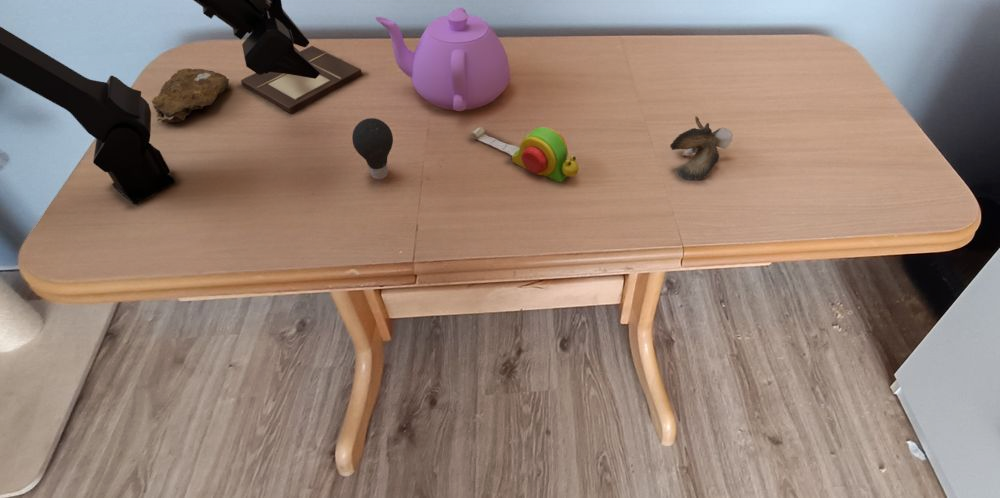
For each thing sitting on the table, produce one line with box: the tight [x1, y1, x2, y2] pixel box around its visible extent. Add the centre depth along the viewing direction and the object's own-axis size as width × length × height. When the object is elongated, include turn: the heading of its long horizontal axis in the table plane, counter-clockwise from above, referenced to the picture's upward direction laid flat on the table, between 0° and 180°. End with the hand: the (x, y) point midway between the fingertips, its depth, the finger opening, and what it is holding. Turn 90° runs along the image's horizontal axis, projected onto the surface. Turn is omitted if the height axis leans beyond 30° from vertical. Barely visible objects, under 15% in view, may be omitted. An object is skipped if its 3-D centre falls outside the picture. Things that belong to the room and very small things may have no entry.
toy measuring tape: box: [470, 126, 580, 183], centre depth 88 cm, size 6×20×7 cm, turn 51°
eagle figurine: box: [669, 115, 734, 181], centre depth 88 cm, size 8×7×9 cm
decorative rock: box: [151, 68, 230, 124], centre depth 100 cm, size 11×4×15 cm
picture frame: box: [240, 45, 363, 115], centre depth 106 cm, size 16×14×1 cm
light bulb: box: [351, 117, 394, 180], centre depth 84 cm, size 6×6×10 cm
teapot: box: [375, 7, 511, 112], centre depth 99 cm, size 22×22×14 cm
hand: (312, 59), depth 83 cm, fingers open, 9 cm apart
